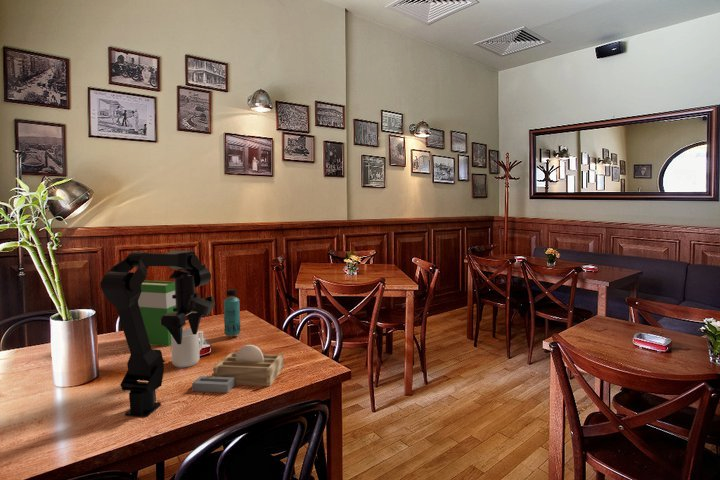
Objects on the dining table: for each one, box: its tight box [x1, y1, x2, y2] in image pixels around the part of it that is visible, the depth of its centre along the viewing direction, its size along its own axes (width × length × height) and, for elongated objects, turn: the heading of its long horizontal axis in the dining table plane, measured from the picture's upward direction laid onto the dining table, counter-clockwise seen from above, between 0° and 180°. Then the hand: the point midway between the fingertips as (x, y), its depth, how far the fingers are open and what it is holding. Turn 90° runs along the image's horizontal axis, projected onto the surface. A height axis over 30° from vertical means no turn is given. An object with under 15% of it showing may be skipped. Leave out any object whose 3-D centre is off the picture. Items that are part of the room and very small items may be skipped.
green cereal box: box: [138, 279, 177, 347], centre depth 165 cm, size 18×7×24 cm, turn 77°
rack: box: [212, 350, 285, 387], centre depth 133 cm, size 14×18×5 cm
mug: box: [170, 328, 204, 369], centre depth 144 cm, size 12×9×11 cm
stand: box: [191, 375, 236, 394], centre depth 124 cm, size 5×11×2 cm, turn 84°
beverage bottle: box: [223, 288, 241, 337], centre depth 169 cm, size 6×7×20 cm
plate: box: [236, 344, 264, 362], centre depth 132 cm, size 1×9×9 cm, turn 83°
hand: (187, 339), depth 129 cm, fingers open, 9 cm apart
